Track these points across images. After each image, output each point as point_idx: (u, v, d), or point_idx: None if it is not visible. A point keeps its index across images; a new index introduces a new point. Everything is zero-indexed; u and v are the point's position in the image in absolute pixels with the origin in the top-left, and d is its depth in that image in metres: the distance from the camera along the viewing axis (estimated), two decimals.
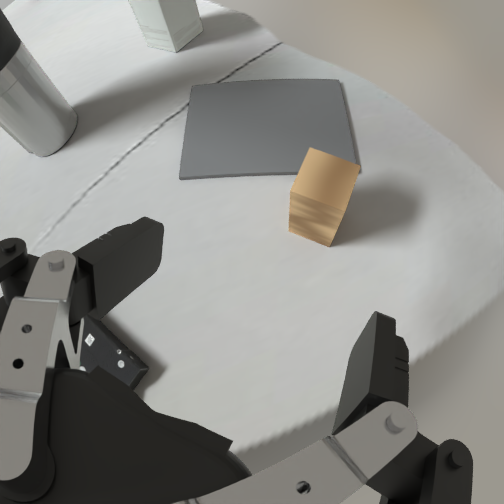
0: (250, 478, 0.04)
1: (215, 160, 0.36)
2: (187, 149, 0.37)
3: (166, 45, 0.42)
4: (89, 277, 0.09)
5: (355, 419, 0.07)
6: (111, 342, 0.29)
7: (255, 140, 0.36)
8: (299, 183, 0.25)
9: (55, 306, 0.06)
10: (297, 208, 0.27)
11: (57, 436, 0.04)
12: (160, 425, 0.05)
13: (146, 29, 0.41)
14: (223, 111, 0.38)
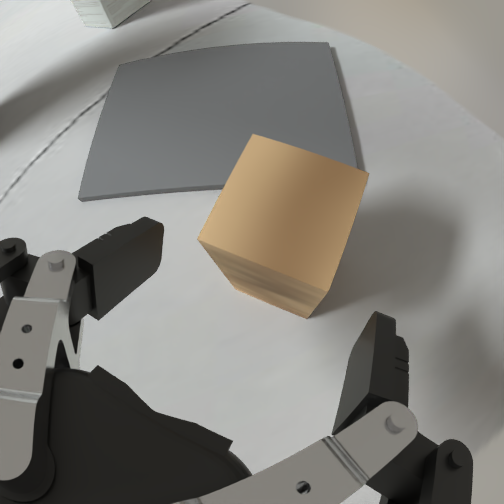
0: (250, 478, 0.04)
1: (128, 169, 0.22)
2: (94, 154, 0.23)
3: (101, 20, 0.29)
4: (89, 277, 0.09)
5: (355, 419, 0.07)
6: None
7: (191, 133, 0.22)
8: (220, 219, 0.11)
9: (55, 306, 0.06)
10: (229, 267, 0.13)
11: (57, 436, 0.04)
12: (159, 426, 0.05)
13: (78, 4, 0.27)
14: (152, 93, 0.24)
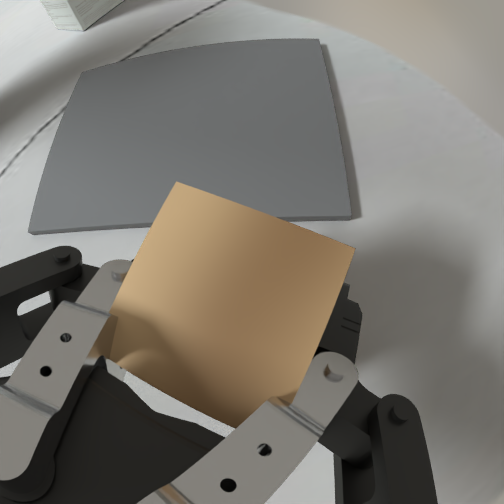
0: (250, 478, 0.04)
1: (78, 199, 0.18)
2: (46, 179, 0.19)
3: (71, 22, 0.25)
4: None
5: None
6: None
7: (148, 155, 0.18)
8: (121, 323, 0.07)
9: (102, 321, 0.06)
10: None
11: None
12: (160, 425, 0.05)
13: (48, 6, 0.23)
14: (111, 105, 0.20)
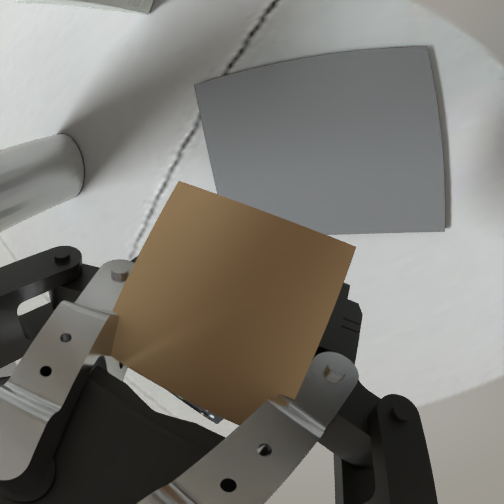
0: (250, 478, 0.04)
1: None
2: None
3: (128, 11, 0.24)
4: None
5: None
6: None
7: (309, 185, 0.26)
8: (124, 322, 0.07)
9: (102, 321, 0.06)
10: None
11: None
12: (160, 426, 0.05)
13: None
14: (254, 132, 0.26)
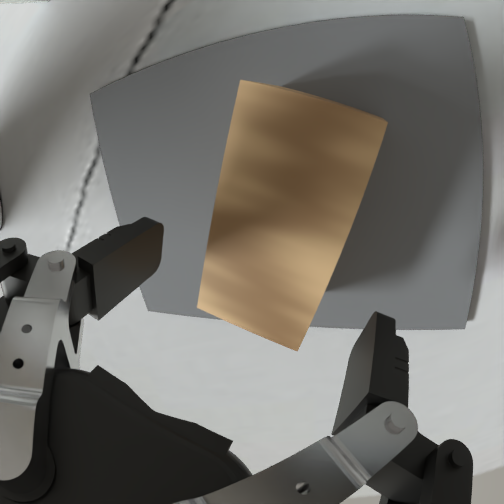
0: (250, 478, 0.04)
1: (189, 290, 0.19)
2: None
3: (26, 1, 0.13)
4: (89, 277, 0.09)
5: (355, 419, 0.07)
6: None
7: None
8: (262, 83, 0.09)
9: (55, 306, 0.06)
10: (242, 165, 0.10)
11: (57, 436, 0.04)
12: (160, 425, 0.05)
13: None
14: (166, 165, 0.16)
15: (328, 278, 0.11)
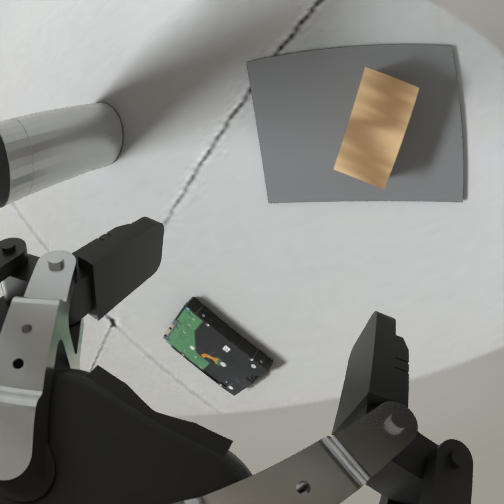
0: (250, 478, 0.04)
1: (305, 183, 0.31)
2: (269, 167, 0.32)
3: None
4: (89, 277, 0.09)
5: (355, 419, 0.07)
6: (245, 353, 0.43)
7: None
8: None
9: (55, 306, 0.06)
10: (364, 100, 0.22)
11: (57, 436, 0.04)
12: (160, 426, 0.05)
13: None
14: (301, 107, 0.28)
15: (398, 148, 0.23)
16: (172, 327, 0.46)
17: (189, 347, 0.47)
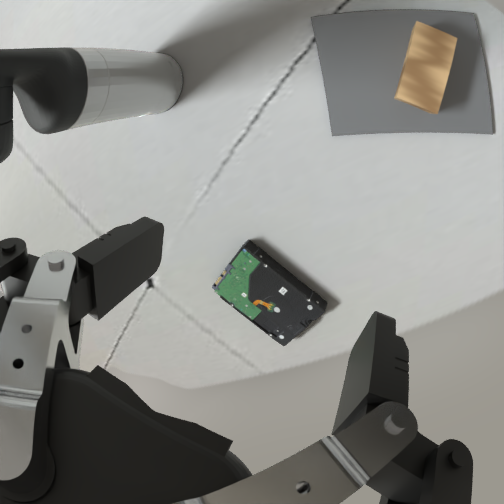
0: (250, 478, 0.04)
1: (365, 117, 0.33)
2: (332, 103, 0.34)
3: None
4: (89, 277, 0.09)
5: (355, 419, 0.07)
6: (302, 294, 0.44)
7: None
8: None
9: (55, 306, 0.06)
10: (418, 44, 0.24)
11: (57, 436, 0.04)
12: (160, 426, 0.05)
13: None
14: (359, 54, 0.30)
15: (446, 82, 0.24)
16: (224, 274, 0.48)
17: (241, 295, 0.48)
